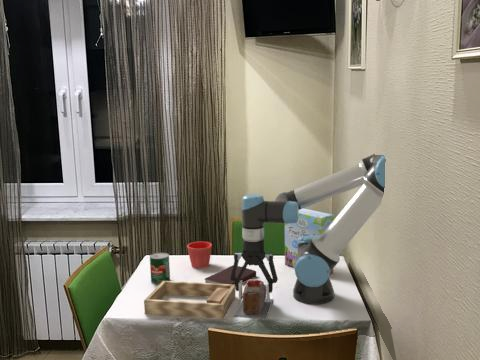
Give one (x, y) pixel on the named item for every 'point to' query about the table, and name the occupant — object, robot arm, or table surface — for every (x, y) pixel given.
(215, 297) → the offcut stack
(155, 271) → the canned tomato
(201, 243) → the flower pot
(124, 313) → the table surface
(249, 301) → the food item
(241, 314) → the mat
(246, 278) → the book
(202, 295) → the tray
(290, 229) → the snack box
